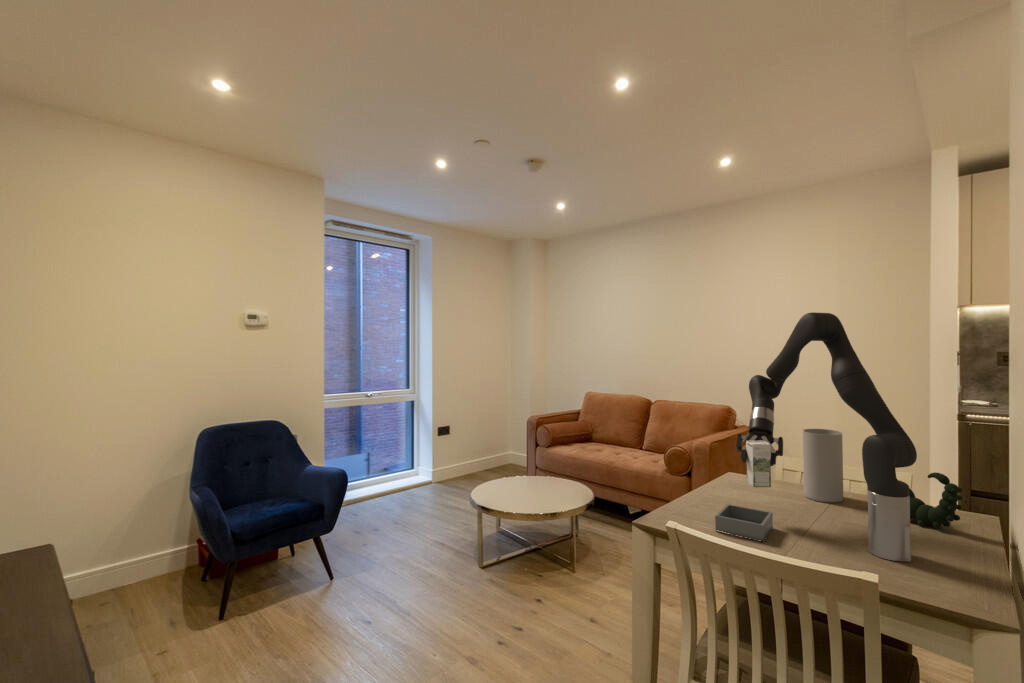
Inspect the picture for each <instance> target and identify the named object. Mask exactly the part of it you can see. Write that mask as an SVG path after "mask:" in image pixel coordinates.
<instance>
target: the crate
mask: <svg viewBox="0 0 1024 683" xmlns="http://www.w3.org/2000/svg"><path fill="white" fill-rule="evenodd" d="M773 514H774V513H773V512H772V511H771V512H770V511H767V510H761V509H756V508H751V507H745V506H741V505H735V504H734V505H733V504H729V503H727V504H726V505H725V506H724V507H723V508H721V509H720V510H719V512H718V513H716V515H715V516H714V521H715V523H714V524H715V525H714V526H715V531H716V530H719V531H723V532H726V533H730V534H733V535H738V536H742V537H747V538H751V539H756V540H761V541H764V540H765V541H766V539H767V538H768V536H769V535H770V533H771V532H772V530H773V529H774V528H773V527H774V522H773V520H774V519H773V518H774V517H773ZM772 528H773V529H772ZM771 529H772V530H771ZM770 531H771V532H770ZM769 532H770V533H769ZM768 534H769V535H768ZM767 535H768V536H767ZM766 537H767V538H766ZM765 538H766V539H765ZM765 541H764V542H765Z"/></svg>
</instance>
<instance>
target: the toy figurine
mask: <svg viewBox="0 0 1024 683" xmlns="http://www.w3.org/2000/svg"><path fill="white" fill-rule="evenodd" d="M927 478H928V479H931V478H933V479H935V480H937V481H938V482H939V483H941V484H942V485H944V487H943V492H942V493H941V498H940V499H939V501H938V505H936V507H933V505H929V504H926V503H925V502H924V501H923V500H922V499H920V498H918V497H916V495H915V493H914V491H913V490H912V489H911V488H910V487H909V489H910V521H911V520H912V519H914V520H917V526H919V527H921V526H923V527H926V525H927V526H933V527H934V528H935V529H941V528H942V526H943V527H946V528H947V527H948V528H949V527H950V526H951V522H954V521H956V522H957V521H960V520H961V516H960V515H958V514H956V511H960V510H962V509H963V507H962V505H961V504H958V502H959V501H962V500H963V496H962V495H959V494H960V493H962V492H963V489H962V488H961V487H959V486H958V485H956V484H955V483H953V482H951V481H950V478H949V477H948V476H946V474H943V473H940V472H930V473H929V474H928V475H927ZM950 482H951V483H950Z"/></svg>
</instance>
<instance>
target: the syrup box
mask: <svg viewBox="0 0 1024 683" xmlns="http://www.w3.org/2000/svg"><path fill="white" fill-rule="evenodd" d="M745 441H746V442H745V444H746V463H745V465H746V483H747V484H748V485H750V486H752V487H753V488H772V468H771V467H772V466H771V464H770V460H771V445H772V444H771V445H770V444H769V443H768V442H766V441H747V440H745Z"/></svg>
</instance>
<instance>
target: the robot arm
mask: <svg viewBox="0 0 1024 683" xmlns="http://www.w3.org/2000/svg"><path fill="white" fill-rule="evenodd" d="M788 337H789V338H788V339H787V341H786V342H785V344H784V346H783V348H782V349H781V351H780V352H779V353H778V355H777V356H776V357H775V359H773V361H772V362H771V363H770V364H769V366H768V367H767V369H765V370H766V371H765V374H766V376H763V375H760V374H755V375H753V376H752V377H751V378H750V380H749V382H748V392H749V394H750V399H751V403H752V404H751V412H750V416H749V423H748V424H749V425H748V432H747V433H748V434H746V435H745V434H744V435H743V434H742V433H737V437H736V438H737V439H736V444H735V448H736V451H737V452H738V453H741V455H740V460H741V462H743V464H746V443H745V444H744V445H743V443H744V442H745V441H766V442H768V443H769V444H770V445H771V460H770V464H771V467H774V466H775V465H776V464H777V457H779V456H780V457H783V455H784V438H783V437H782V436H778V437H774V429H775V428H774V426H775V416H774V415H775V413H774V412H775V402H774V399H776V398H778V397H779V396H780V394H781V391H782V388H783V386H784V384H785V382H786V380H787V379H788V378H789V377H790V376H791V375H792V374H793V372H795V370H796V369H797V367H798V366H799V362H800V355H801V351H802V350H803V349H804V348H805V347H806V346H807V345H808V344H809V343H811V342H822V343H824V345H825V346H826V348H827V350H828V351H829V354H830V356H831V369H830V377H831V382H832V384H833V386H834V388H835V390H836V391H837V393H838V395H839V397H840V399H842V401H843V402H844V403H845V404H846V405H847V406H848V407H849V408H851V409H852V410H853V411H855V412H856V413H857V414H858V415H859V416H861V417H862V418H863V419H864V420H866V422H867V423H868V424H869V425H870V426H871V428H872V429H873V430H874V431H873V432H874V433H875V434H873V435H872V434H871V435H869V436H867V437H866V438H865V439H864V440H863V443H862V448H861V455H862V456H861V458H862V466H863V469H862V470H863V476H864V479H865V480H864V481H865V482H866V485H867V528H868V529H867V530H868V531H867V534H868V538H867V539H868V541H867V542H868V543H867V544H868V551H869V553H871V554H872V555H874V556H875V557H879V558H881V559H885V560H890V561H894V562H907V563H912V539H911V538H912V536H911V535H912V534H911V532H912V531H911V520H910V489H911V488H910V486H909V484H908V483H906V482H905V481H903V480H899V479H898V478H897V472H896V471H897V470H896V469H898V468H908V467H911V466H913V465H914V464H915V463H916V461H917V459H918V458H917V457H918V453H917V448H916V447H915V444H914V443H913V441H912V439H911V438H910V436H909V434H907V432H906V430H905V429H904V428H903V427H902V426H901V424H900V423H899V422H898V421H897V419H896V417H895V416H894V415H893V413H892V411H891V410H890V409H889V407H888V405H887V404H886V402H885V401H884V399H883V398H882V396H881V394H880V392H879V391H878V389H877V388H876V386H875V383H874V382H873V380H872V379H871V376H870V375H869V373H868V372H867V370H866V369H865V367H864V365H863V364H862V362H861V360H860V358H859V357H858V354H857V353H856V351H855V350H854V348H853V345H852V343H851V341H850V339H849V337H848V335H847V332H846V330H845V328H844V325H843V323H842V322H841V320H840V318H839V317H838V316H837V315H835V314H833V313H831V312H815V311H814V312H807V313H805V314H804V315H802V316H801V317H800V318H799V320H798V322H796V325H795V326H794V328H793V330H792V332H791V334H790V335H789V336H788ZM774 443H775V444H776V445H777V447H778V448H777V449H775V448H774V447H773V444H774ZM742 445H743V446H742ZM909 488H910V489H909Z"/></svg>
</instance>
